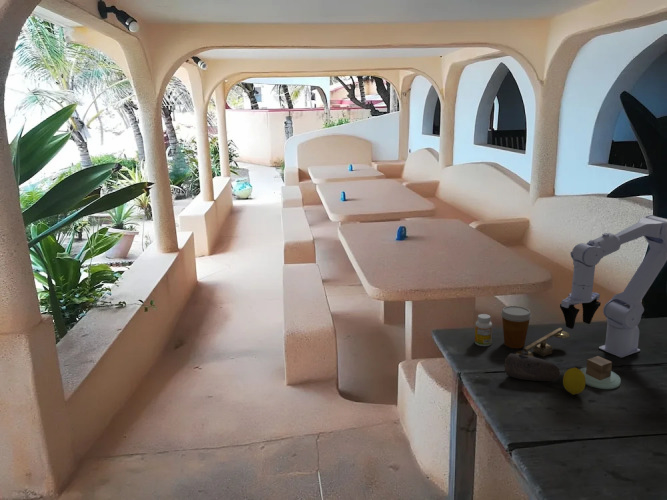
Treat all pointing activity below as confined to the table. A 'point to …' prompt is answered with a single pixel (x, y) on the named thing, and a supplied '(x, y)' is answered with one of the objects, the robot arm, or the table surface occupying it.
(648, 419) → the table surface
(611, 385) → the dish
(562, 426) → the table surface
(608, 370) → the block
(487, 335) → the supplement bottle
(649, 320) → the table surface
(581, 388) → the lemon
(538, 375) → the perforated stone tool
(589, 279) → the robot arm
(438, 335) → the table surface
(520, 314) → the disposable coffee cup
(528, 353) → the balance
